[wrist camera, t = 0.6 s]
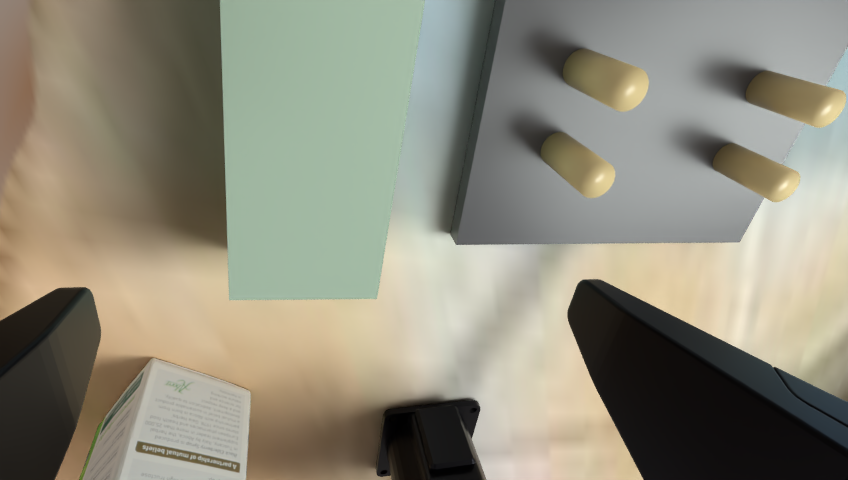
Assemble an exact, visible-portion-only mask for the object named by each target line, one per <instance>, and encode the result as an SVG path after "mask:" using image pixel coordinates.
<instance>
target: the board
mask: <svg viewBox="0 0 848 480" xmlns="http://www.w3.org/2000/svg"><path fill="white" fill-rule="evenodd" d="M424 3H425V0H220V20H221V52H222V84H223V116H224V147H225V179H226V211H227V243H228V275H229V300H302V299H377V295H378V289H379V283H380V276H381V270H382V264H383V258H384V252H385V245H386V239H387V233H388V227H389V220H390V214H391V208H392V202H393V196H394V189H395V183H396V177H397V171H398V165H399V158H400V152H401V146H402V140H403V134H404V127H405V121H406V115H407V109H408V102H409V96H410V90H411V84H412V78H413V71H414V65H415V59H416V53H417V47H418V40H419V34H420V28H421V22H422V16H423V9H424Z"/></svg>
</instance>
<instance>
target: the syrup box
mask: <svg viewBox="0 0 848 480" xmlns="http://www.w3.org/2000/svg"><path fill="white" fill-rule="evenodd" d="M250 405H251V393H250V391H249V390H247V389H245V388H242V387H239V386H237V385H234V384H232V383H229V382H226V381H224V380H221V379H218V378H215V377H212V376H209V375H206V374H203V373H199V372H196V371H193V370H190V369H187V368H184V367H181V366H178V365H175V364H172V363H169V362H165V361H162V360H158V359H156V358H152V359H150V361H149V362H148V363H147V365H146V366H145V367H144V368H143V369H142V371H141V372H140V373H139V374H138V375H137V377H136V378H135V379H134V380H133V381H132V383H131V384H130V385H129V386H128V387H127V389H126V390H125V391H124V393H123V394H122V395H121V397H120V398H119V399H118V400H117V402H116V403H115V404H114V406H113V407H112V408H111V410H110V411H109V412H108V414H107V415H106V416H105V418H104V419H103V421H102V422H101V423H100V424H99V426H98V428H97V431H96V434H95V437H94V440H93V442H92V445H91V448H90V451H89V453H88V456H87V459H86V462H85V465H84V467H83V470H82V473H81V476H80V479H79V480H246V473H247V455H248V440H249V422H250Z"/></svg>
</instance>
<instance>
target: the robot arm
mask: <svg viewBox="0 0 848 480" xmlns="http://www.w3.org/2000/svg"><path fill="white" fill-rule="evenodd" d="M568 321H569V324H570V327H571V329H572V332H573V334H574V337H575V339H576V342H577V344H578V347H579V349H580V352H581V354H582V357H583V359H584V362H585V364H586V366H587V369H588V371H589V374H590V376H591V378H592V381H593V383H594V385H595V387H596V389H597V391H598V393H599V395H600V397H601V399H602V401H603V403H604V405H605V407H606V409H607V410H608V412H609V414H610V416H611V418H612V420H613V422H614V424H615V426H616V428H617V430H618V432H619V433H620V435H621V437H622V439H623V441H624V443H625V445H626V447H627V449H628V451H629V453H630V454H631V456H632V458H633V460H634V462H635V464H636V466H637V468H638V470H639V472H640V474H641V476H642V477H643V479H644V480H848V402H847V401H845V400H842V399H840V398H838V397H836V396H834V395H832V394H829V393H827V392H825V391H823V390H821V389H819V388H817V387H815V386H813V385H811V384H809V383H807V382H805V381H803V380H801V379H799V378H797V377H795V376H793V375H791V374H789V373H787V372H785V371H783V370H780V369H778V368H776V367H774V368H773V367H772V366H771V365H770V364H768V363H766V362H764V361H762V360H760V359H758V358H756V357H754V356H752V355H750V354H748V353H746V352H744V351H742V350H740V349H738V348H736V347H734V346H732V345H730V344H728V343H726V342H724V341H722V340H720V339H718V338H716V337H714V336H712V335H710V334H708V333H706V332H704V331H702V330H700V329H698V328H696V327H694V326H692V325H690V324H688V323H686V322H684V321H682V320H680V319H678V318H676V317H674V316H672V315H670V314H668V313H666V312H664V311H662V310H660V309H658V308H656V307H654V306H652V305H650V304H648V303H646V302H644V301H642V300H640V299H638V298H636V297H634V296H632V295H630V294H628V293H626V292H624V291H622V290H620V289H618V288H616V287H614V286H612V285H610V284H608V283H606V282H604V281H602V280H598V279H588V280H582V281H580V282H579V283H578V285H577V287H576V290H575V293H574V295H573V298H572V300H571V303H570V306H569V308H568ZM100 338H101V327H100V322H99V318H98V314H97V310H96V306H95V302H94V297H93V294H92V292H91V291H90V290H89V289H88V288H85V287H73V288H58V289H56V290H54V291H52V292H50V293H48V294H47V295H45V296H43V297H41V298H40V299H38V300H36V301H34V302H33V303H31V304H29V305H27V306H26V307H24V308H22V309H20V310H19V311H17V312H15V313H13V314H12V315H10V316H8V317H6V318H5V319H3V320H1V321H0V480H55V478H56V476H57V473H58V471H59V469H60V466H61V464H62V461H63V459H64V456H65V454H66V452H67V449H68V447H69V444H70V442H71V439H72V437H73V434H74V431H75V429H76V426H77V423H78V419H79V416H80V413H81V409H82V405H83V402H84V398H85V394H86V391H87V387H88V383H89V380H90V376H91V372H92V369H93V365H94V361H95V358H96V354H97V350H98V347H99V343H100ZM479 412H480V406H479V403H478V402H477V401H475V400H472V401H462V402H452V403H443V404H433V405H424V406H414V407H405V408H395V409H389V410H387V411H386V412H385V413H384V414H383V421H382V428H381V435H380V442H379V449H378V456H377V463H376V472H377V475H378V476H380V477H383V476H390V475H391V479H392V480H486V477H485V475H484V472H483V469H482V466H481V464H480V461H479V458H478V455H477V453H476V450H475V447H474V445H473V442H472V436H473V433H474V429H475V426H476V422H477V419H478V416H479Z"/></svg>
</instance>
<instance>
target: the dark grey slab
mask: <svg viewBox="0 0 848 480" xmlns="http://www.w3.org/2000/svg"><path fill="white" fill-rule="evenodd" d="M847 47H848V0H496V1H495V6H494V11H493V16H492V21H491V27H490V32H489V37H488V42H487V47H486V53H485V58H484V63H483V68H482V73H481V78H480V84H479V89H478V94H477V99H476V104H475V110H474V115H473V120H472V125H471V130H470V135H469V141H468V146H467V151H466V156H465V161H464V167H463V172H462V177H461V182H460V187H459V192H458V198H457V203H456V208H455V213H454V218H453V223H452V229H451V234H450V235H451V236H452V238H453V240H454V242H455V244H456V245H479V244H597V243H716V242H740V241H741V239H742V237H743V235H744V233H745V231H746V230H747V228H748V226H749V224H750V222H751V221H752V219H753V217H754V215H755V213H756V212H757V210H758V208H759V206H760V204H761V203H762V201H763V199H764V197H765V198H767V199H768V200H770V201H772V202H780V201H783V200H785V199H786V198H788V197H789V196H790V195H791V194H792V193H793V192H794V191H795V190H796V188H797V187H798V185H799V182H800V174H799V173H798V172H797V171H795V170H793V169H790V168H788V167H786V166H784V165H783V163H784V161H785V159H786V157H787V156H788V154H789V152H790V150H791V148H792V147H793V145H794V143H795V141H796V139H797V138H798V136H799V134H800V132H801V130H802V129H803V127H804V125H805V123H806V124H808V125H811V126H814V127H817V128H820V127H824V126H827V125H828V124H830V123H831V122H833V121H834V120H835V119H836V118H837V117H838V116H839V114H840V113H841V111H842V110H843V108H844V106H845V102H846V95H845V93H844V92H843V91H841V90H838V89H834V88H831V87H827V86H826V85H827V83H828V82H829V80H830V78H831V76H832V74H833V73H834V71H835V69H836V67H837V65H838V64H839V62H840V60H841V58H842V56H843V55H844V53H845V51H846V49H847Z"/></svg>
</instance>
